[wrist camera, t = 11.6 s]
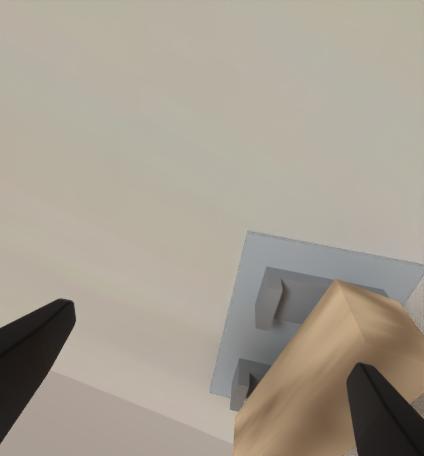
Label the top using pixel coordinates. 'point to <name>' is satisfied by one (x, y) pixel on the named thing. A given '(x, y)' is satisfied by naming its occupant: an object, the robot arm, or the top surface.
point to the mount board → (290, 302)
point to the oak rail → (329, 375)
